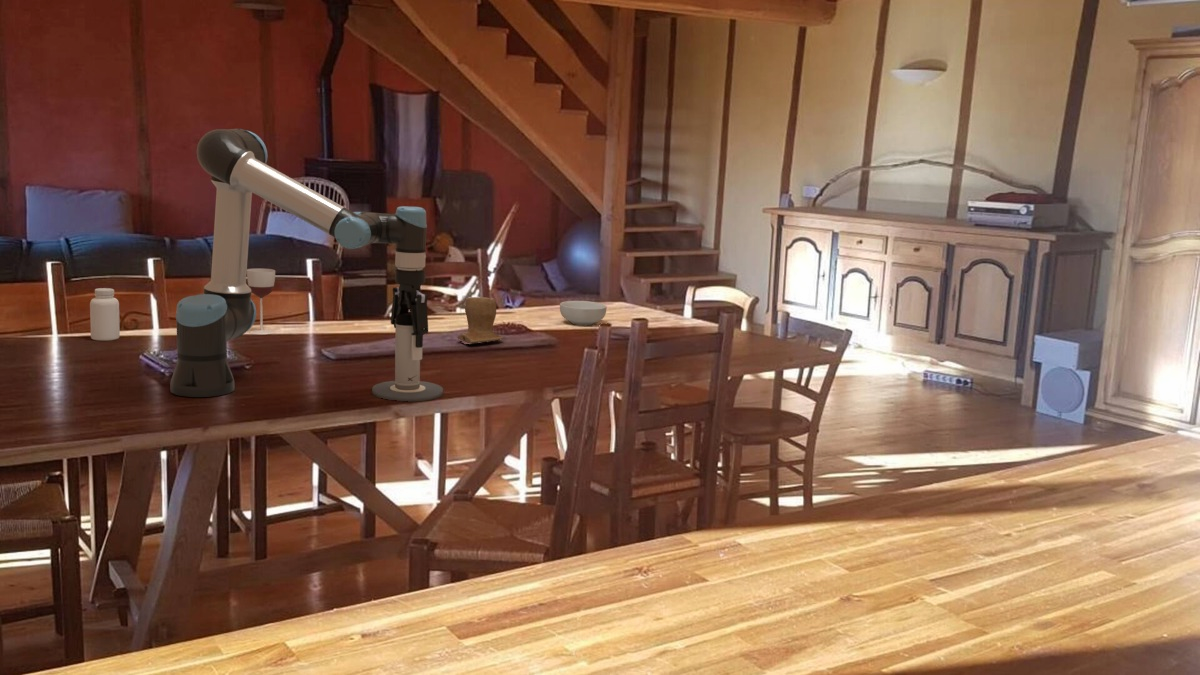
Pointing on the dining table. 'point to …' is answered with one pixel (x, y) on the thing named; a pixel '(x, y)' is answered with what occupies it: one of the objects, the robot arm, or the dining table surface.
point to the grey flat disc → (407, 392)
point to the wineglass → (261, 290)
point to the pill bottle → (104, 315)
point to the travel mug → (405, 355)
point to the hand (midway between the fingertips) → (408, 356)
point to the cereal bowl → (582, 312)
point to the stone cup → (480, 320)
